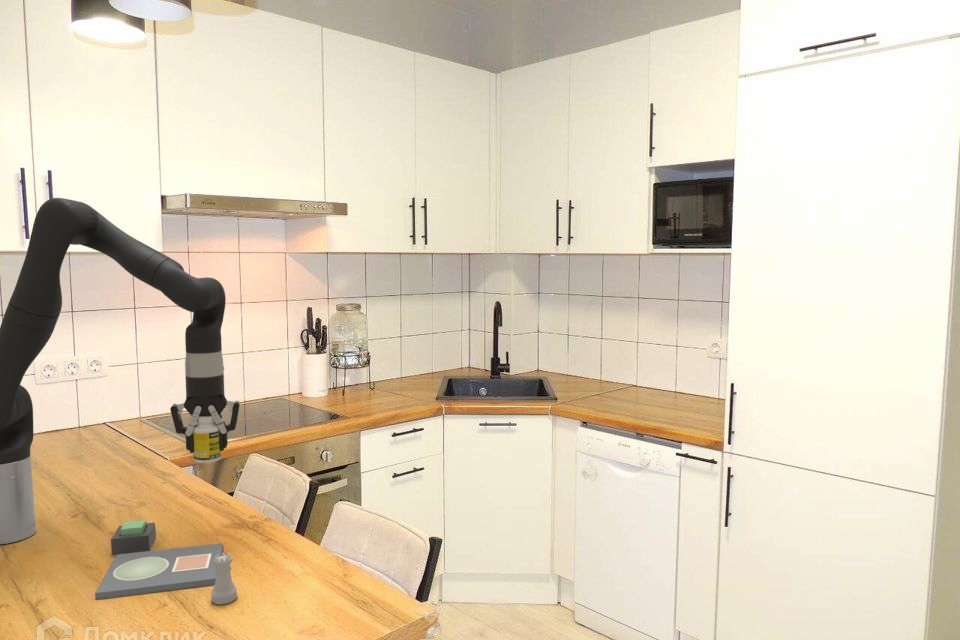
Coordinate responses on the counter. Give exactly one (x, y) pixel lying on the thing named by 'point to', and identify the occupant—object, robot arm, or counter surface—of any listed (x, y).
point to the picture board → (160, 571)
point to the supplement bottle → (206, 440)
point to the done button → (133, 527)
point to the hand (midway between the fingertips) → (207, 450)
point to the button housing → (133, 541)
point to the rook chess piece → (223, 581)
